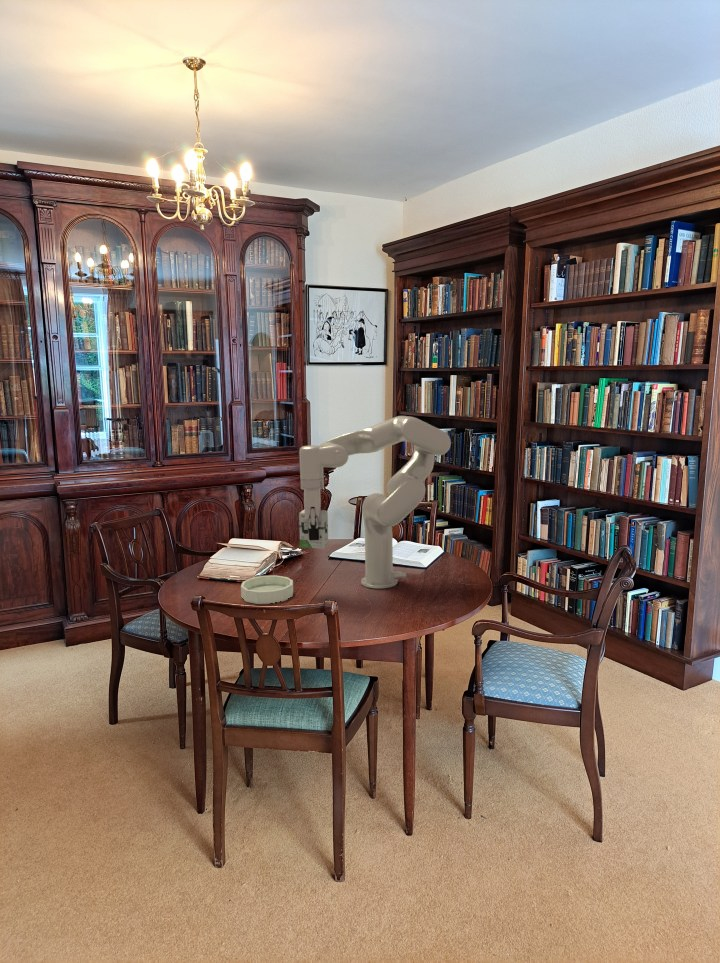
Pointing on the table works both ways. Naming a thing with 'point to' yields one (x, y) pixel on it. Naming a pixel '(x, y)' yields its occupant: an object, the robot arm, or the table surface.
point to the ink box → (322, 531)
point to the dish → (267, 589)
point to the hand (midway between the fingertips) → (314, 536)
